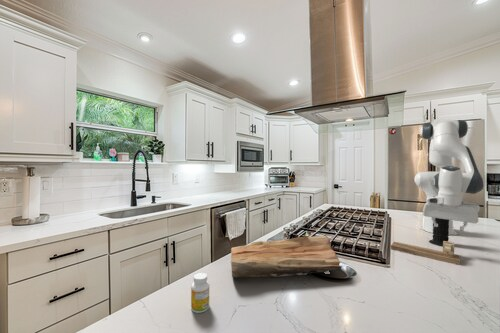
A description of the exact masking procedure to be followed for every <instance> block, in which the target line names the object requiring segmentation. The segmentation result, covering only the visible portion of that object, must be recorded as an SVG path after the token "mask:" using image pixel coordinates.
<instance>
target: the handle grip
mask: <svg viewBox="0 0 500 333" xmlns="http://www.w3.org/2000/svg"><path fill="white" fill-rule="evenodd" d="M435 221H436V223H438V227H434V223H433V233H432V239H429V241H428V243H430V244H432V245H434V246H438V247H443V241H447V242H449V237H450V235H448V234H449V231H448V230H449V225H448V224H449V220H447V219H440V218H435Z"/></svg>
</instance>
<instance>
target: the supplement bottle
mask: <svg viewBox="0 0 500 333" xmlns="http://www.w3.org/2000/svg"><path fill="white" fill-rule="evenodd" d="M190 291H191V292H190V294H191V295H190V298H191V299H190V304H191V305H190V307H191V311H192V312H193V313H197V314H199V313H201V314H202V313H204V312H207V311H208V310H209V308H210V282H209V281H208V274H207V273H204V272H199V273H196V274H194V276H193V282H192V284H191V286H190Z"/></svg>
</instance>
